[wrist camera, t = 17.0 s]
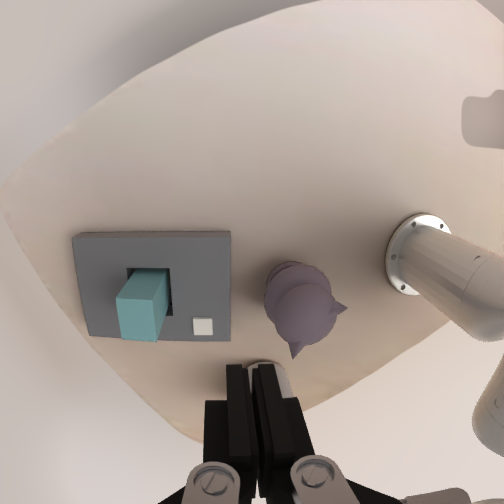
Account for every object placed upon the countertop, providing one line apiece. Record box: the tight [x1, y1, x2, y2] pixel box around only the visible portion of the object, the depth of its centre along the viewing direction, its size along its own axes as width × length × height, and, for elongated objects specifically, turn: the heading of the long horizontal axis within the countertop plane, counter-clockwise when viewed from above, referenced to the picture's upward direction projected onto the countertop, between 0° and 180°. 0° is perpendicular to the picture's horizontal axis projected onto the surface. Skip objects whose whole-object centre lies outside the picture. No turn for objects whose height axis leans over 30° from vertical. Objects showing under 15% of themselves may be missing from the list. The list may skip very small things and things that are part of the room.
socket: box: [72, 231, 231, 341], centre depth 38 cm, size 20×14×4 cm
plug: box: [116, 268, 170, 342], centre depth 35 cm, size 4×5×10 cm
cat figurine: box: [264, 262, 347, 359], centre depth 35 cm, size 9×8×12 cm
